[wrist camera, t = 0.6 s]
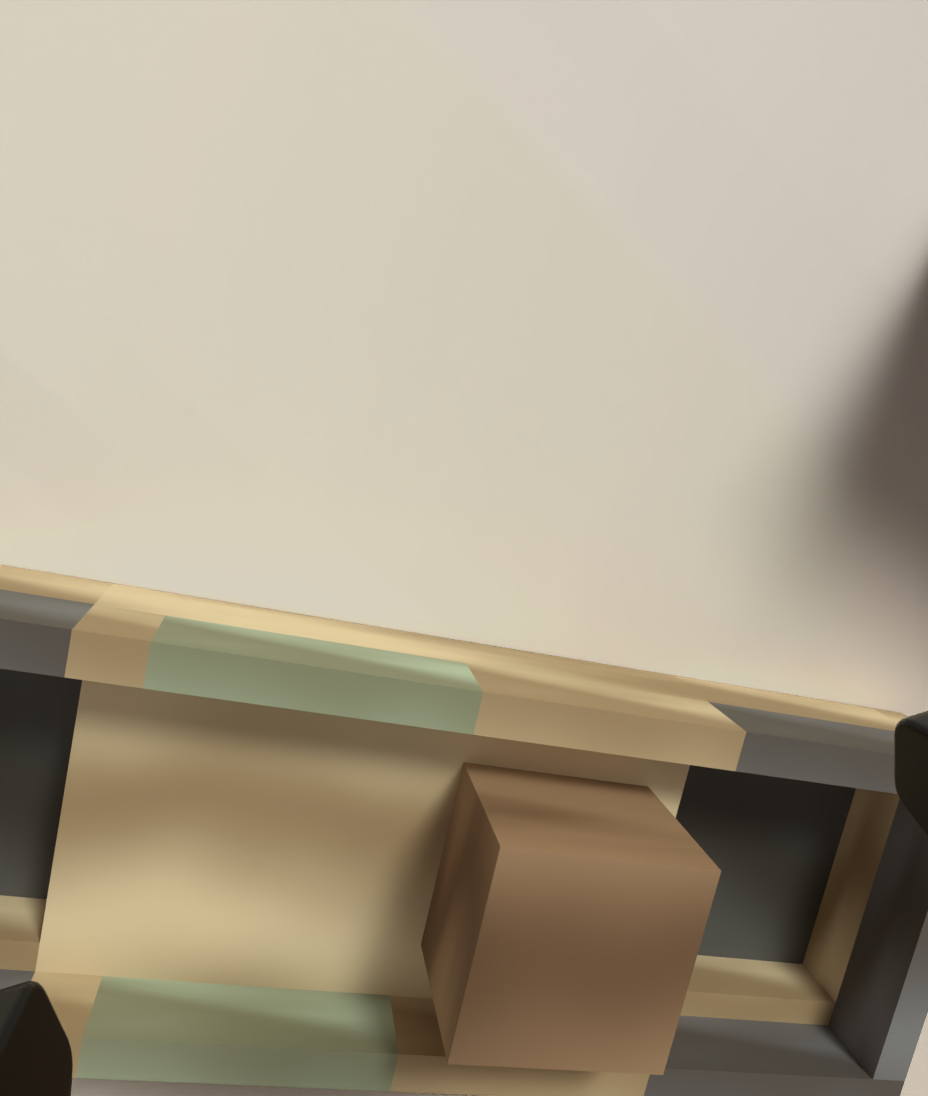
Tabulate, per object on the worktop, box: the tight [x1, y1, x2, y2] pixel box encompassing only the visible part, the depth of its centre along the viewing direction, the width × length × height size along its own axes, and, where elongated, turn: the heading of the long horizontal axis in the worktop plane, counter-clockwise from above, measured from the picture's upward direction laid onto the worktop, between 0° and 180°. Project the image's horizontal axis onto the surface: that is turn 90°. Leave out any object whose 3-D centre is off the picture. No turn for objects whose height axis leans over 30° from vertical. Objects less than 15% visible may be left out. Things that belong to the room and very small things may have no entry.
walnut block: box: [421, 762, 721, 1075], centre depth 20 cm, size 5×5×4 cm
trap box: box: [0, 565, 928, 1096], centre depth 21 cm, size 10×30×4 cm, turn 77°
